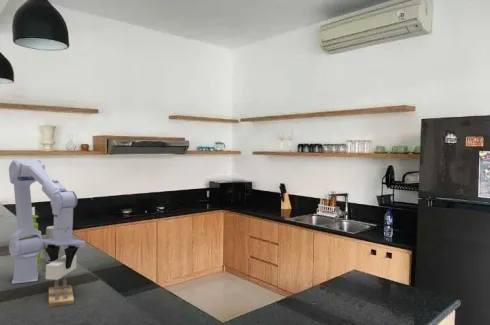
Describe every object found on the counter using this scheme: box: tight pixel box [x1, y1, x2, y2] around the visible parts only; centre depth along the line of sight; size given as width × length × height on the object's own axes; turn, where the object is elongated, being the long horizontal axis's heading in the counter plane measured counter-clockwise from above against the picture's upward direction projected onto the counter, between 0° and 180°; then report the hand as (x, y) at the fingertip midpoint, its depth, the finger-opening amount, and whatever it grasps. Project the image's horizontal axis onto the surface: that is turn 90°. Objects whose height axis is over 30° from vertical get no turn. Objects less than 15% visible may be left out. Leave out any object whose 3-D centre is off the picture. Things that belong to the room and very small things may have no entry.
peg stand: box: [48, 278, 75, 308], centre depth 120 cm, size 14×7×4 cm, turn 29°
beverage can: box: [44, 225, 61, 264], centre depth 156 cm, size 6×6×15 cm
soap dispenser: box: [24, 214, 42, 265], centre depth 153 cm, size 6×7×20 cm
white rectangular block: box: [45, 254, 78, 281], centre depth 122 cm, size 12×4×4 cm, turn 179°
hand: (61, 267), depth 122 cm, fingers closed on white rectangular block, 4 cm apart
